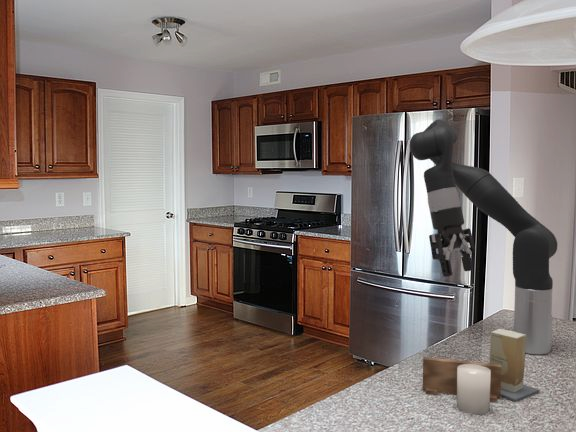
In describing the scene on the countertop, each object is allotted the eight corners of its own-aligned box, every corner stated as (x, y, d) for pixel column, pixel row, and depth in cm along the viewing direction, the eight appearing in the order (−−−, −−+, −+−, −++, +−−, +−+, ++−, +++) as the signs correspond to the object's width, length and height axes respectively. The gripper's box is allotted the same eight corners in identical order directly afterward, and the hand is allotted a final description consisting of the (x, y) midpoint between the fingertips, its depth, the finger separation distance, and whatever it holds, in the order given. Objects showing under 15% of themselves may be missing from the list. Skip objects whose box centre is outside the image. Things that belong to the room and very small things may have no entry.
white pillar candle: (469, 398, 115) (470, 361, 114) (496, 409, 110) (497, 370, 109) (449, 406, 111) (450, 368, 111) (476, 417, 106) (477, 377, 106)
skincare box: (487, 385, 121) (489, 331, 120) (497, 380, 124) (498, 327, 123) (515, 393, 116) (517, 337, 115) (525, 388, 119) (526, 333, 118)
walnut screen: (422, 393, 118) (422, 361, 117) (423, 385, 123) (424, 354, 122) (501, 402, 113) (501, 369, 112) (499, 393, 118) (500, 362, 117)
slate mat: (502, 379, 126) (502, 377, 126) (539, 392, 118) (539, 389, 118) (478, 388, 121) (478, 385, 120) (515, 402, 113) (515, 399, 113)
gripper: (449, 209, 141) (462, 270, 140) (414, 213, 132) (428, 279, 131) (474, 203, 135) (488, 267, 134) (440, 207, 127) (454, 276, 125)
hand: (458, 273), depth 132 cm, fingers open, 8 cm apart
